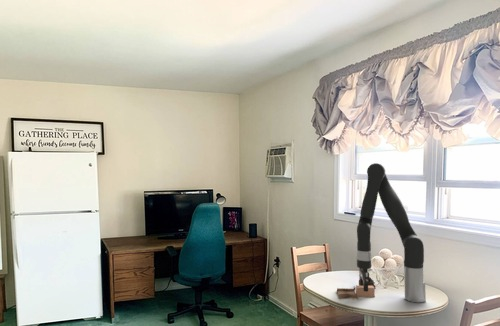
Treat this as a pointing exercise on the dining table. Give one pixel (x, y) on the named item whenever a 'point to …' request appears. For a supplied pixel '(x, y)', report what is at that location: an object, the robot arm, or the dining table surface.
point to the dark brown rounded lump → (371, 282)
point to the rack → (346, 293)
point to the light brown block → (362, 293)
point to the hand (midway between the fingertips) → (364, 288)
